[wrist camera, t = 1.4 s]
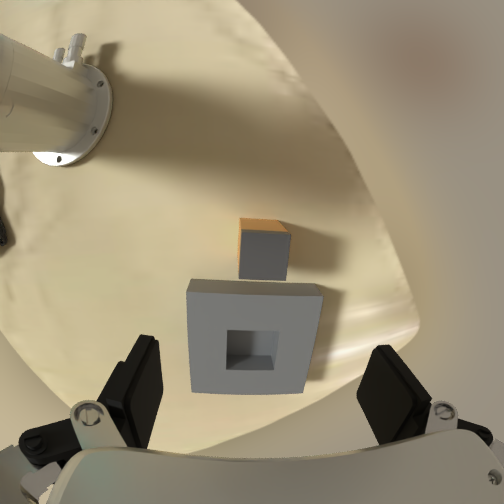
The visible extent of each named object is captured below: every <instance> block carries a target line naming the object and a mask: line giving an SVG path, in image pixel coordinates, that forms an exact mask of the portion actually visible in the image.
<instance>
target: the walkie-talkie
mask: <svg viewBox="0 0 504 504" xmlns="http://www.w3.org/2000/svg"><path fill="white" fill-rule="evenodd" d="M2 240H3V241H2ZM6 244H7V237H6V230H5V227H4V226H3V224H2V220H1V217H0V245H1V246H4V245H6Z"/></svg>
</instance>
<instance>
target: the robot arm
mask: <svg viewBox="0 0 504 504" xmlns="http://www.w3.org/2000/svg"><path fill="white" fill-rule="evenodd" d="M86 38H87V36H86V35H85V34H74V35H73V36H72V38H71V41H70V45H69V48H68V50H69V51H68V54H67V57H66V58H64V59H63V57H64V53H65V49H64V48H58V49H56V50H55V52H54V56H53V59H51V58H50V57H48V56H46V55H44V54H42V53H40V52H38V51H36V50H34V49H32V48H30V47H28V46H26V45H24V44H22V43H19V42H17V41H15V40H13V39H11V38H9V37H7V36H5V35H3V34H0V152H33V154H34V155H35V156H36V157H37V159H39V160H40V161H41V162H43V163H44V164H47V165H50V166H66V165H69V164H73V163H75V162H77V161H78V160H80V159H82V158H83V157H84V156H86V155H87V154H88V153H89V152H90V151H91V150H92V149H93V148H94V147H95V146H96V144H97V143H98V141H99V140H100V138H101V137H102V135H103V133H104V131H105V129H106V127H107V124H108V122H109V119H110V115H111V110H112V100H113V96H112V89H111V86H110V83H109V80H108V79H107V77H106V76H105V74H104V73H103V72H101V71H100V70H99V69H97V68H96V67H94V66H92V65H89V64H82V62H83V58H82V57H81V54H82V50H83V49H84V45H85V41H86ZM62 60H63V63H62ZM61 63H62V64H61ZM102 85H103V86H102ZM97 130H98V131H97ZM96 131H97V133H96ZM162 395H163V380H162V371H161V361H160V350H159V341H158V340H155V338H154V336H149V335H142V334H141V335H140V336H139V337H138V339H137V341H136V343H135V345H134V346H133V348H132V350H131V352H130V353H129V355H128V357H127V359H126V361H125V362H123V361H120V362H118V364H117V365H116V367H115V369H114V370H113V372H112V374H111V376H110V378H109V379H108V381H107V383H106V385H105V387H104V388H103V390H102V392H101V394H100V396H99V397H98V399H97V401H93V400H85V401H81V402H78V403H77V404H75V405H74V406H73V407H72V409H71V412H70V418H69V419H65V420H62V421H58V422H55V423H51V424H48V425H44V426H40V427H37V428H33V429H29V430H27V431H25V432H24V433H22V435H21V437H20V438H19V445H17V446H15V447H14V446H13V445H11V446H9V447H7V448H5V449H3V450H2V451H0V504H39V502H38V501H39V497H40V496H41V495H42V494H43V493H44V492H45V491H47V490H48V489H47V487H48V486H50V485H51V484H54V486H53V489H52V491H51V493H50V496H49V498H48V501H47V503H46V504H504V444H503V443H502V442H500V441H499V440H497V439H495V441H493V436H492V434H491V432H490V430H489V429H488V428H486V427H483V426H480V425H477V424H474V423H471V422H467V421H464V420H461V419H458V412H457V410H456V408H455V407H454V406H453V405H452V404H450V403H448V402H445V401H437V402H434V403H433V404H431V403H430V401H431V399H432V398H431V396H430V395H429V394H428V392H427V391H426V390H425V389H424V387H423V386H422V385H421V383H420V382H419V381H418V379H417V378H416V377H415V376H414V374H413V373H412V372H411V370H410V369H409V368H408V367H407V365H406V364H405V363H404V362H403V360H402V359H401V358H400V357H399V356H398V354H397V353H396V352H395V350H394V349H393V348H392V347H391V346H390V345H378V346H377V347H376V349H373V351H372V354H371V357H370V359H369V362H368V365H367V368H366V370H365V373H364V375H363V378H362V380H361V383H360V385H359V388H358V390H357V399H358V402H359V404H360V406H361V408H362V410H363V412H364V414H365V416H366V418H367V420H368V422H369V424H370V426H371V428H372V431H373V433H374V435H375V437H376V439H377V441H378V443H379V446H374V447H369V448H364V449H358V450H352V451H347V452H340V453H332V454H324V455H316V456H305V457H290V458H224V457H209V456H198V455H188V454H180V453H172V452H165V451H157V450H150V449H147V447H148V443H149V440H150V436H151V433H152V429H153V426H154V422H155V419H156V415H157V412H158V408H159V405H160V402H161V399H162Z"/></svg>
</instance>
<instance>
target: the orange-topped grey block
mask: <svg viewBox="0 0 504 504" xmlns="http://www.w3.org/2000/svg"><path fill="white" fill-rule="evenodd" d="M290 239H291V234H290V233H289V232H288V231H287V230H286V229H285V228H284V227H283V225H282V224H281V223H280V222H279V221H278V220H267V219H250V218H240V220H239V237H238V254H237V256H238V273H239V279H250V280H278V281H286V275H287V267H288V258H289V248H290Z"/></svg>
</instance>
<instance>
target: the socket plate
mask: <svg viewBox="0 0 504 504" xmlns="http://www.w3.org/2000/svg"><path fill="white" fill-rule="evenodd" d="M323 297H324V296H323V295H322V293H321V292H320V290H319V289H318V288H317V286H316V285H315V284H310V283H274V282H246V281H223V280H203V279H191V280H190V283H189V286H188V288H187V291H186V299H187V327H188V347H189V363H190V377H191V389H192V392H194V393H210V394H235V395H272V394H296V393H303V390H304V386H305V382H306V378H307V374H308V370H309V365H310V361H311V357H312V352H313V348H314V343H315V338H316V333H317V328H318V323H319V318H320V313H321V308H322V302H323Z"/></svg>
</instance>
